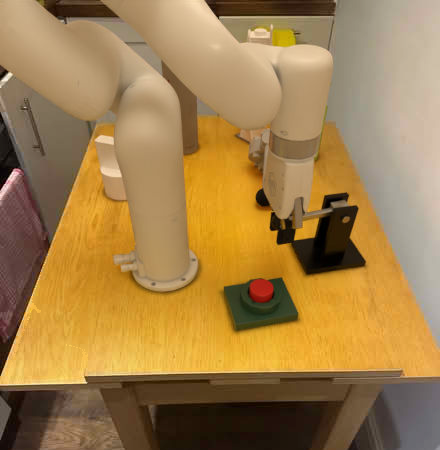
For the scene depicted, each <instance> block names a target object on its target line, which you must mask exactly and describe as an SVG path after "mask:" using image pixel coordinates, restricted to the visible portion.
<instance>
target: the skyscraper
mask: <svg viewBox="0 0 440 450" xmlns="http://www.w3.org/2000/svg"><path fill="white" fill-rule="evenodd" d="M269 27H270V28H269V31H267V29H266V28H255V29H254V31H253V30H251V29H250V28H249V29H248V30H247V35H246V36H247V37H246V42H249V43H258V44H264V45H270V46H273V32H274V24H273V23H271V24H270V26H269ZM265 129H266V126H265V127H264V128H261V129H258V130H253V131H250V130H243V129H240V132H239V133H236V134H235V137H237V138H238V139H240V140H242V141H244V142H246V143H247V144H248V145H249V144H250V143H251V142H252V141H253V138H254V137H256V136H258V137H261V132H262V131H263V130H265Z"/></svg>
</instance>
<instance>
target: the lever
mask: <svg viewBox="0 0 440 450" xmlns="http://www.w3.org/2000/svg"><path fill="white" fill-rule="evenodd" d="M346 206H350V204H349V203H348V201H347V202H346V201H345V200H340V201H335V202H331V203H330V208H326V209H321V208H320V209H317V210H312V211H307V213H306V215H305V216H302V220H303V222H307V221H311V220H316V219H319V218H321V217H326V216H331V215H332V212H333V208H338V207H346ZM288 220H293V216H289V217H288V218H287V219H286V221H288ZM280 224H281V219H280V218H278V217H277V215H276V214H275V215H274V216H273V218H272V226H273V228H274V229H276V230H277V231H278V226H280Z"/></svg>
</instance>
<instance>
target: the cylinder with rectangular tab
mask: <svg viewBox="0 0 440 450" xmlns="http://www.w3.org/2000/svg"><path fill="white" fill-rule="evenodd" d="M94 147H95V149H96V150H95V151H96V155H97V158H98V163H99V171H100V175H101V180H102V184H103V189H104V192H105V195H106V196H107V197H108V198H110V199H112V200H115V201H127V198H126V193H125V188H124V183H123V179H122V175H121V172H120V169H119V166H118V163H117V159H116V155H115V150H114V136H109V135H103V134H100V135H99V136H98V137H96V138H95V139H94Z"/></svg>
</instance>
